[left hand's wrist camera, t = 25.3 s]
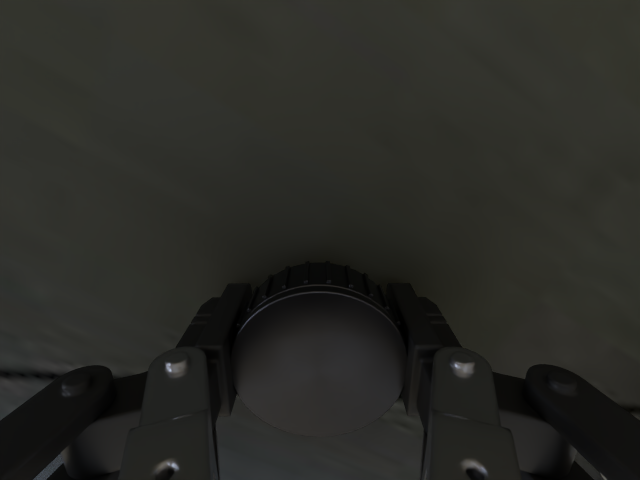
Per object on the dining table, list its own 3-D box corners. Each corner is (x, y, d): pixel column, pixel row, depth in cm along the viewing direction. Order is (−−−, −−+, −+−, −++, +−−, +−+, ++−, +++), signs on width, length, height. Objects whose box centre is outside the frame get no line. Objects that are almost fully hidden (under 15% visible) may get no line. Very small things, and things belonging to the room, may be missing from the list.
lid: (350, 411, 12) (355, 459, 10) (217, 359, 11) (199, 402, 10) (427, 300, 11) (448, 336, 9) (280, 231, 10) (271, 256, 8)
